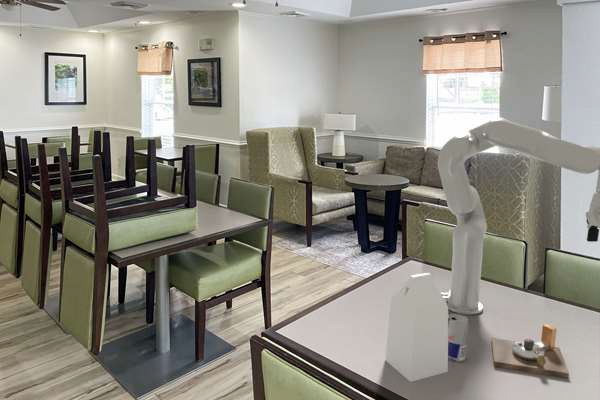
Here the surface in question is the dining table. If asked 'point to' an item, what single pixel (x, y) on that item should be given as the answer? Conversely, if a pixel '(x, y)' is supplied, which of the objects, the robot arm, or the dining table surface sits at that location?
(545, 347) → the crank handle
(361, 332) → the dining table surface
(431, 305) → the milk
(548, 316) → the dining table surface
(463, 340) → the energy drink
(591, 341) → the dining table surface
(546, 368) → the walnut board
